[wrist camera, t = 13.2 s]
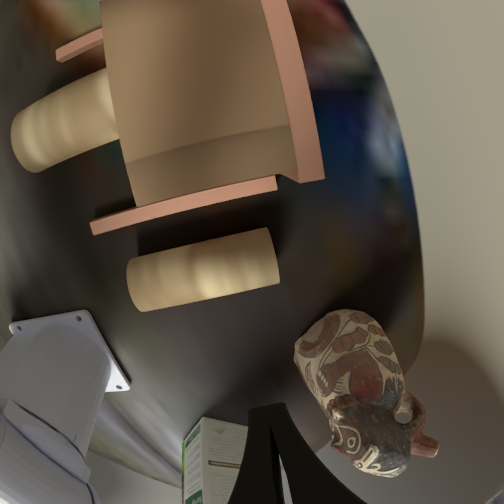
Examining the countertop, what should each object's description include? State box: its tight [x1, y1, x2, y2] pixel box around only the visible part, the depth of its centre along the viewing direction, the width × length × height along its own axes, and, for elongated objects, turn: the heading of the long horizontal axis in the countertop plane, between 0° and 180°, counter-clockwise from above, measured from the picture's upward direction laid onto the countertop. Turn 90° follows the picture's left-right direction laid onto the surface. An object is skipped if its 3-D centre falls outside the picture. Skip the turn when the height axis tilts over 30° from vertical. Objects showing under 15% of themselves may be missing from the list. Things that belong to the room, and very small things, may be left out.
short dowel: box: [126, 227, 280, 312], centre depth 16 cm, size 8×3×3 cm
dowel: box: [11, 67, 119, 173], centre depth 12 cm, size 12×4×4 cm, turn 101°
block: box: [100, 0, 298, 207], centre depth 11 cm, size 6×9×6 cm, turn 11°
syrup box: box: [182, 417, 248, 504], centre depth 18 cm, size 6×6×14 cm
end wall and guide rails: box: [56, 0, 325, 235], centre depth 11 cm, size 12×12×6 cm
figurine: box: [294, 309, 440, 477], centre depth 16 cm, size 7×7×12 cm
